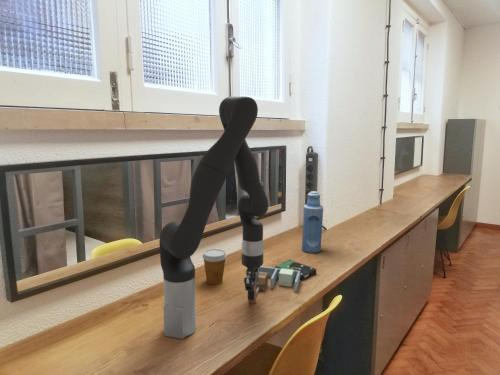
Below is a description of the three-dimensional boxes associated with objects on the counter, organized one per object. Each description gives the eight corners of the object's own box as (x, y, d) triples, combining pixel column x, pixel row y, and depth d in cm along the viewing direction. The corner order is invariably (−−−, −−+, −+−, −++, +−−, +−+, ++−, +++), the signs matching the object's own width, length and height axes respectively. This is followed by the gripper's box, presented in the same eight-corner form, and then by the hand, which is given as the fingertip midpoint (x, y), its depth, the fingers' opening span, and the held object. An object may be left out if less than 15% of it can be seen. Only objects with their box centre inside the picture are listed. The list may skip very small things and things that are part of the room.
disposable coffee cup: (229, 277, 146) (229, 249, 144) (221, 287, 137) (221, 258, 135) (208, 274, 148) (207, 247, 146) (198, 284, 139) (198, 255, 137)
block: (291, 286, 139) (291, 274, 138) (278, 285, 140) (279, 273, 139) (293, 281, 143) (293, 269, 143) (280, 280, 145) (281, 268, 144)
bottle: (319, 247, 184) (322, 190, 179) (321, 254, 174) (325, 194, 169) (301, 246, 185) (303, 189, 180) (302, 253, 175) (304, 193, 170)
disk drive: (316, 275, 151) (288, 264, 161) (317, 268, 151) (289, 259, 161) (302, 282, 144) (274, 271, 154) (302, 275, 144) (274, 265, 154)
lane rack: (296, 292, 134) (296, 282, 134) (247, 285, 139) (247, 275, 138) (299, 280, 145) (300, 270, 144) (254, 274, 149) (254, 265, 149)
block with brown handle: (257, 304, 124) (258, 282, 123) (244, 302, 126) (244, 281, 124) (267, 284, 139) (268, 265, 138) (255, 283, 141) (255, 264, 139)
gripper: (258, 259, 115) (257, 308, 119) (267, 245, 129) (266, 290, 132) (236, 257, 117) (236, 305, 120) (247, 243, 130) (246, 287, 134)
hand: (252, 297), depth 126 cm, fingers closed on block with brown handle, 2 cm apart
